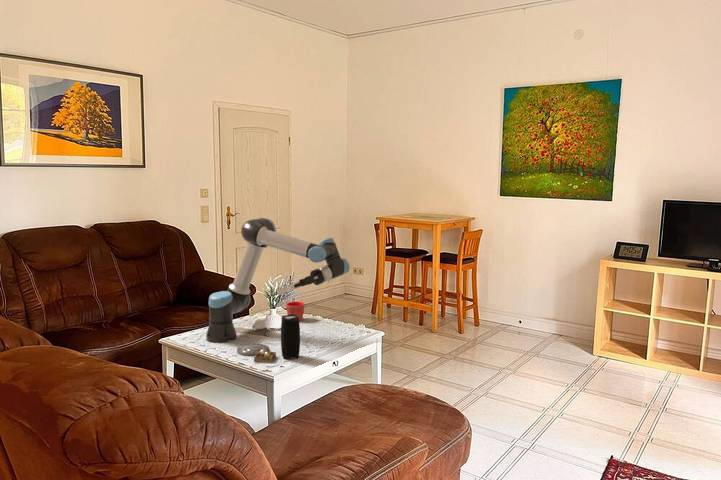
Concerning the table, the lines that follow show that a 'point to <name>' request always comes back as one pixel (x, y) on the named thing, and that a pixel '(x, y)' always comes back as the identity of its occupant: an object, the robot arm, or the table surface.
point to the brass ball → (267, 354)
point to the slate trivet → (251, 349)
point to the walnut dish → (264, 359)
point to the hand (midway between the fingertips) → (282, 291)
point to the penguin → (259, 323)
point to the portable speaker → (290, 336)
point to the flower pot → (295, 309)
